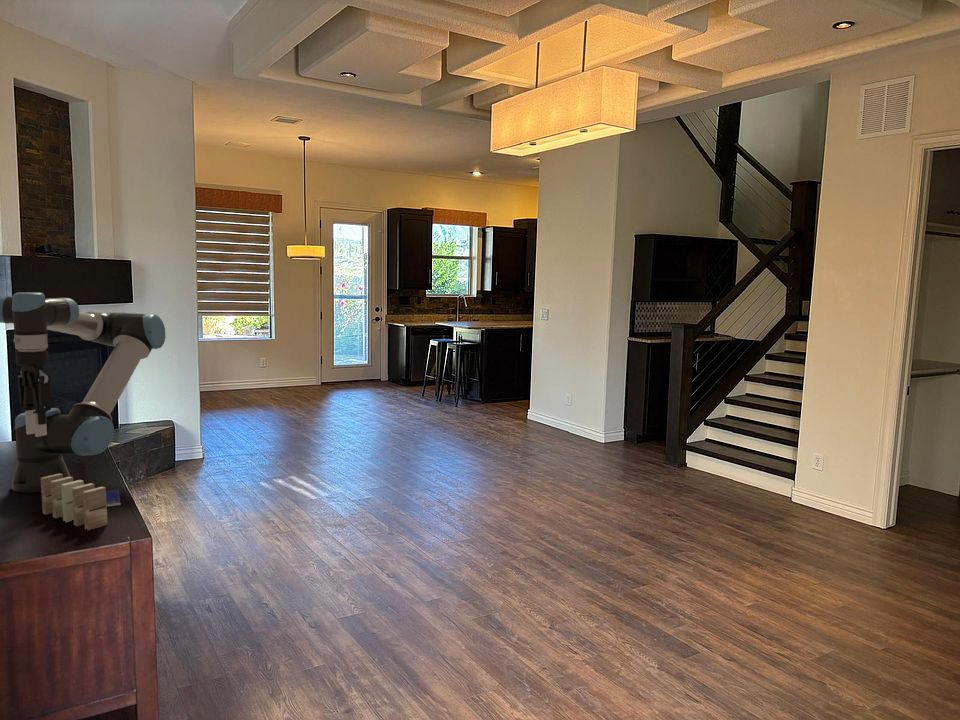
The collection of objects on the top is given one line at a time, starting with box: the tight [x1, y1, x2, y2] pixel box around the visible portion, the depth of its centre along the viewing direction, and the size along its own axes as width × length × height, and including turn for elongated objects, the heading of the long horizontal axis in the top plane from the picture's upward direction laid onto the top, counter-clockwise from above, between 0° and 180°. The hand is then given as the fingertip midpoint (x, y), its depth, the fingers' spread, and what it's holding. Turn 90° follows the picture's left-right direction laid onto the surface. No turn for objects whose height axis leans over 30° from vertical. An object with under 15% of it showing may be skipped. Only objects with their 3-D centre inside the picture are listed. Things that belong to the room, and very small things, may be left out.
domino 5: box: [83, 486, 108, 531], centre depth 181 cm, size 2×5×10 cm, turn 149°
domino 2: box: [51, 476, 74, 519], centre depth 189 cm, size 2×5×10 cm, turn 149°
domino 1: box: [40, 473, 63, 515], centre depth 191 cm, size 2×5×10 cm, turn 149°
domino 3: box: [61, 479, 85, 523], centre depth 186 cm, size 2×5×10 cm, turn 149°
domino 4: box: [72, 482, 96, 527], centre depth 184 cm, size 2×5×10 cm, turn 149°
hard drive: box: [106, 489, 122, 508], centre depth 202 cm, size 2×8×12 cm
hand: (36, 434), depth 193 cm, fingers open, 4 cm apart
